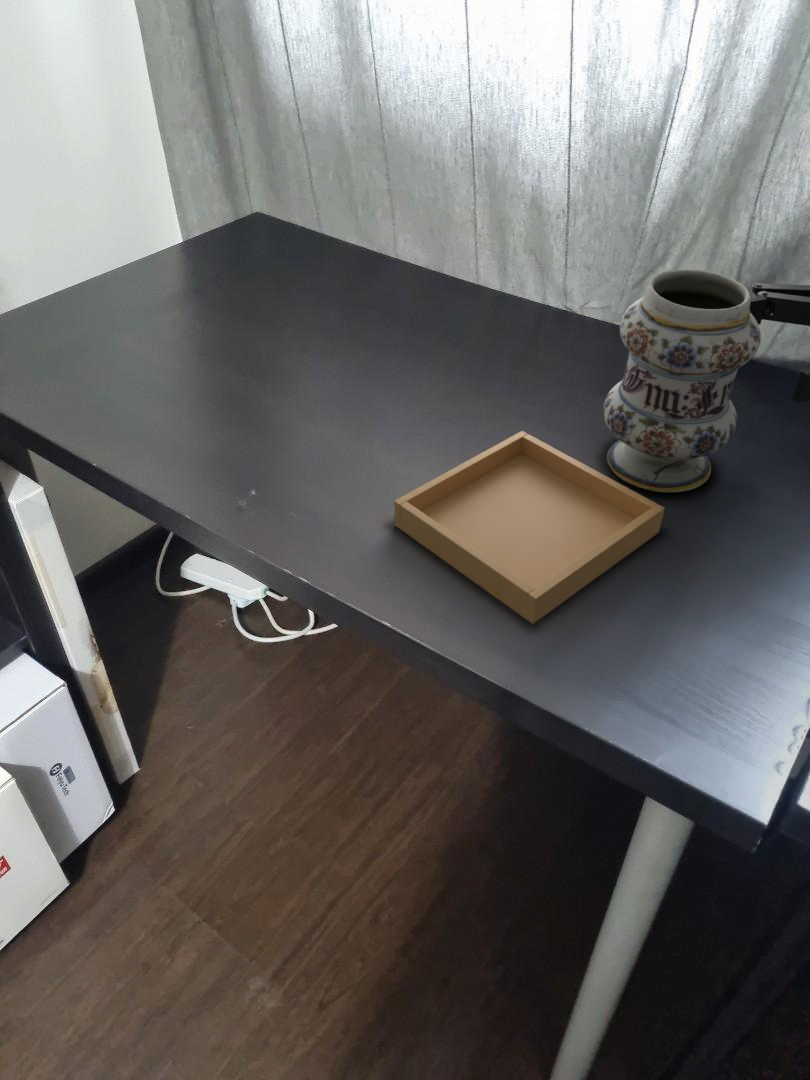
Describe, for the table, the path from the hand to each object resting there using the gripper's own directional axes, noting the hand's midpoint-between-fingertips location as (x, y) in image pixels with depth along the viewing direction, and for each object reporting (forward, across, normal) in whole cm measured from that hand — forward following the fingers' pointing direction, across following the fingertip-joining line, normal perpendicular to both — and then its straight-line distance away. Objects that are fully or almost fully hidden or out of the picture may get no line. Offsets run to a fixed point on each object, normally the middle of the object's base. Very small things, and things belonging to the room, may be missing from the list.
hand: (749, 351), depth 76 cm
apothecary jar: (+7, 0, -11) cm, 13 cm away
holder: (+24, -5, -11) cm, 27 cm away
